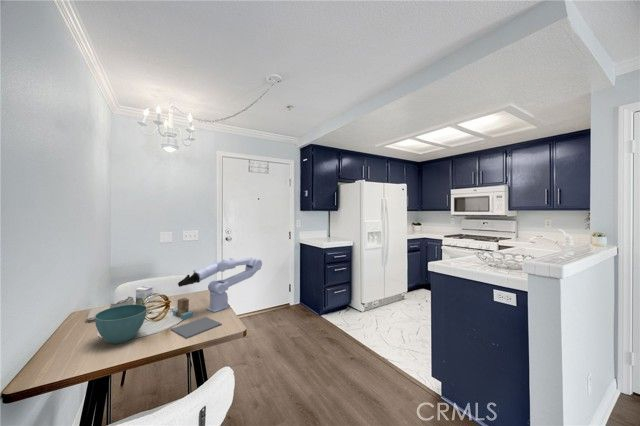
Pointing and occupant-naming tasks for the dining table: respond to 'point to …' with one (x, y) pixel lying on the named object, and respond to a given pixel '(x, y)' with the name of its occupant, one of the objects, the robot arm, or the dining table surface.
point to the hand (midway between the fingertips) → (181, 284)
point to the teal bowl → (120, 322)
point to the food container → (123, 302)
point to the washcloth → (94, 311)
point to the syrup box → (143, 294)
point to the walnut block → (182, 306)
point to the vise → (183, 315)
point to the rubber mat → (195, 327)
